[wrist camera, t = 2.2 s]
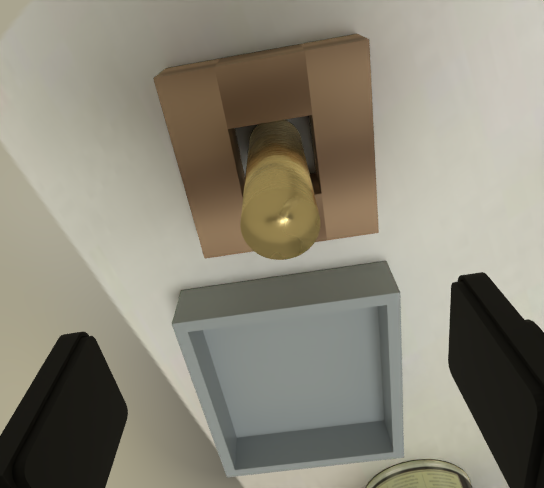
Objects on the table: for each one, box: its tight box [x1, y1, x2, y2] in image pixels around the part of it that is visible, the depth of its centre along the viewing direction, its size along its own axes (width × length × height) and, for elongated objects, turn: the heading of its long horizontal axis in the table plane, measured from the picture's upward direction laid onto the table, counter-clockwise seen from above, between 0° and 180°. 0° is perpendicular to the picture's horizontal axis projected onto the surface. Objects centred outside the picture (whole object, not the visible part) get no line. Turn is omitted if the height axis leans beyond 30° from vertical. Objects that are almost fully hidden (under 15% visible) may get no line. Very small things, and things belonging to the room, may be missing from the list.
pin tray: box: [172, 261, 404, 477], centre depth 32 cm, size 16×14×4 cm
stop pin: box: [240, 120, 320, 260], centre depth 21 cm, size 3×3×10 cm
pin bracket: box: [153, 34, 379, 258], centre depth 24 cm, size 10×10×3 cm
